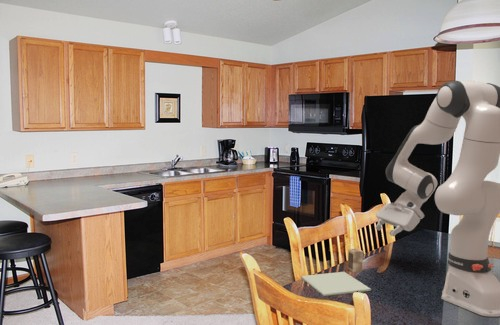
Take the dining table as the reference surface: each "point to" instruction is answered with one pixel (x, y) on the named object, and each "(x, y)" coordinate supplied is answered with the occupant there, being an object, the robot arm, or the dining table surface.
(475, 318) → the dining table surface
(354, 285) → the sage mat
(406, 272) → the dining table surface
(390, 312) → the dining table surface
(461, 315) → the dining table surface
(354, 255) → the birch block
